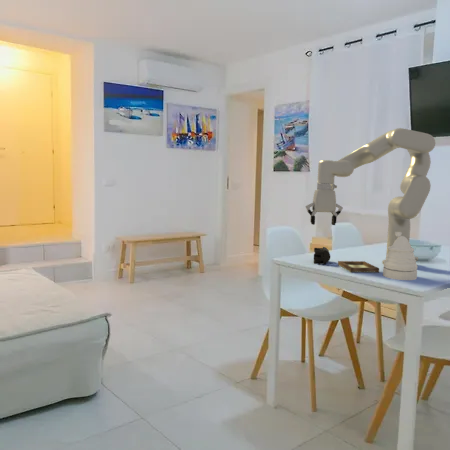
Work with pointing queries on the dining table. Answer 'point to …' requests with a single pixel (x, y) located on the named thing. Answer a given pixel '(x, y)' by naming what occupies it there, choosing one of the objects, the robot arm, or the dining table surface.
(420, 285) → the dining table surface
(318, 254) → the end cap
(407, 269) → the honey pot
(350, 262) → the pocket tray
